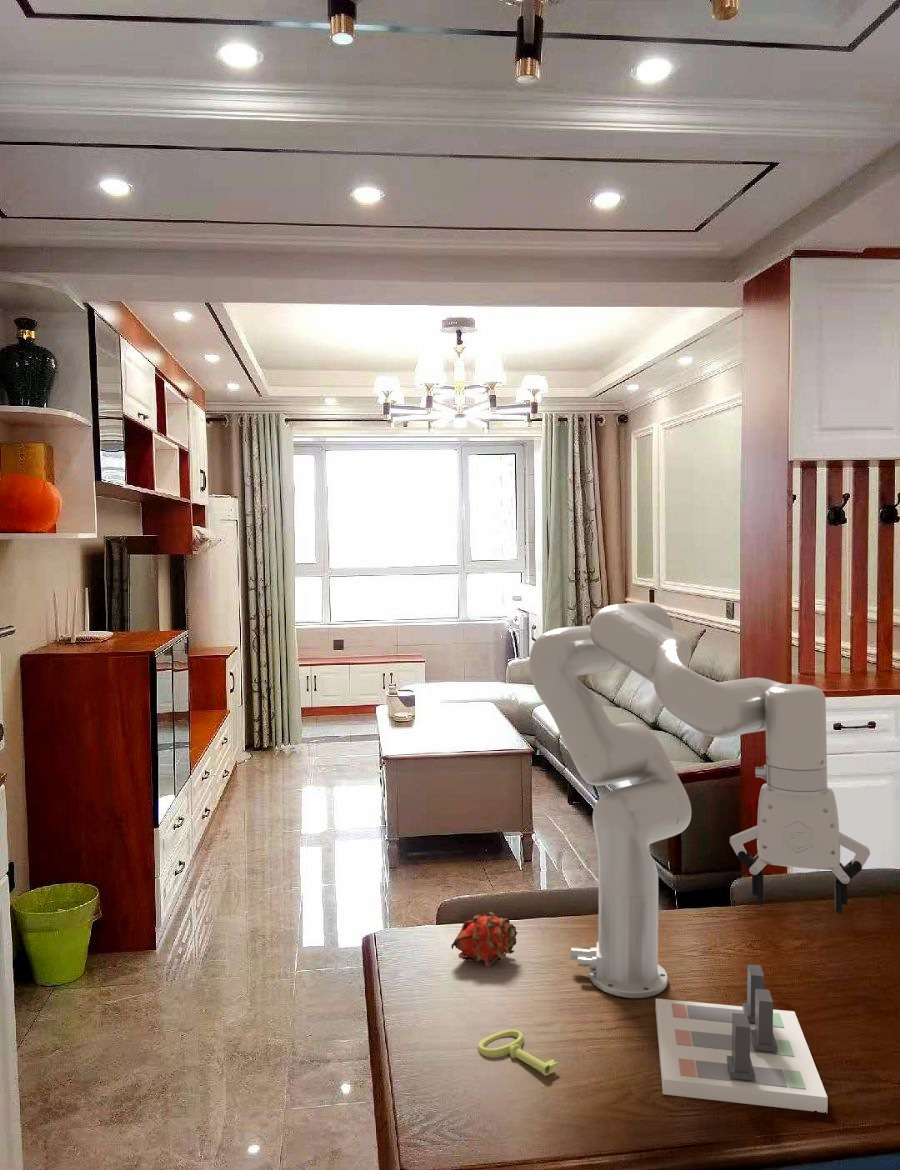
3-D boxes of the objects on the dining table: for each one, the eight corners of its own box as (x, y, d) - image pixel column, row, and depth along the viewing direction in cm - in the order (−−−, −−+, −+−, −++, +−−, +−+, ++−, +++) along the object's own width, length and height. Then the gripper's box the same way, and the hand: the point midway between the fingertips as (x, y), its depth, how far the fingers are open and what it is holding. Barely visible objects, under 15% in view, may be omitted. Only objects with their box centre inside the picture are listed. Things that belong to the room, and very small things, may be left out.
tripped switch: (730, 1078, 110) (730, 1026, 110) (726, 1061, 113) (727, 1011, 113) (754, 1080, 109) (755, 1029, 109) (750, 1063, 113) (751, 1013, 113)
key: (549, 1084, 113) (549, 1069, 113) (471, 1054, 120) (471, 1039, 120) (573, 1058, 119) (573, 1043, 119) (498, 1030, 126) (498, 1016, 126)
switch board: (662, 1094, 110) (663, 1078, 110) (655, 1011, 130) (655, 997, 130) (827, 1112, 107) (827, 1096, 107) (794, 1024, 126) (794, 1010, 126)
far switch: (746, 1021, 123) (746, 975, 123) (742, 1008, 126) (743, 963, 126) (768, 1023, 122) (768, 977, 122) (763, 1010, 126) (764, 965, 126)
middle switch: (754, 1049, 116) (754, 1001, 116) (750, 1034, 120) (750, 987, 119) (777, 1052, 116) (778, 1003, 115) (772, 1037, 119) (773, 989, 119)
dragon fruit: (523, 966, 147) (457, 985, 144) (507, 921, 154) (443, 939, 151) (528, 941, 142) (459, 961, 139) (510, 896, 148) (444, 914, 145)
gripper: (726, 780, 113) (729, 908, 114) (871, 789, 107) (873, 924, 107) (729, 767, 120) (732, 888, 121) (865, 775, 114) (868, 902, 114)
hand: (799, 905), depth 114 cm, fingers open, 9 cm apart
